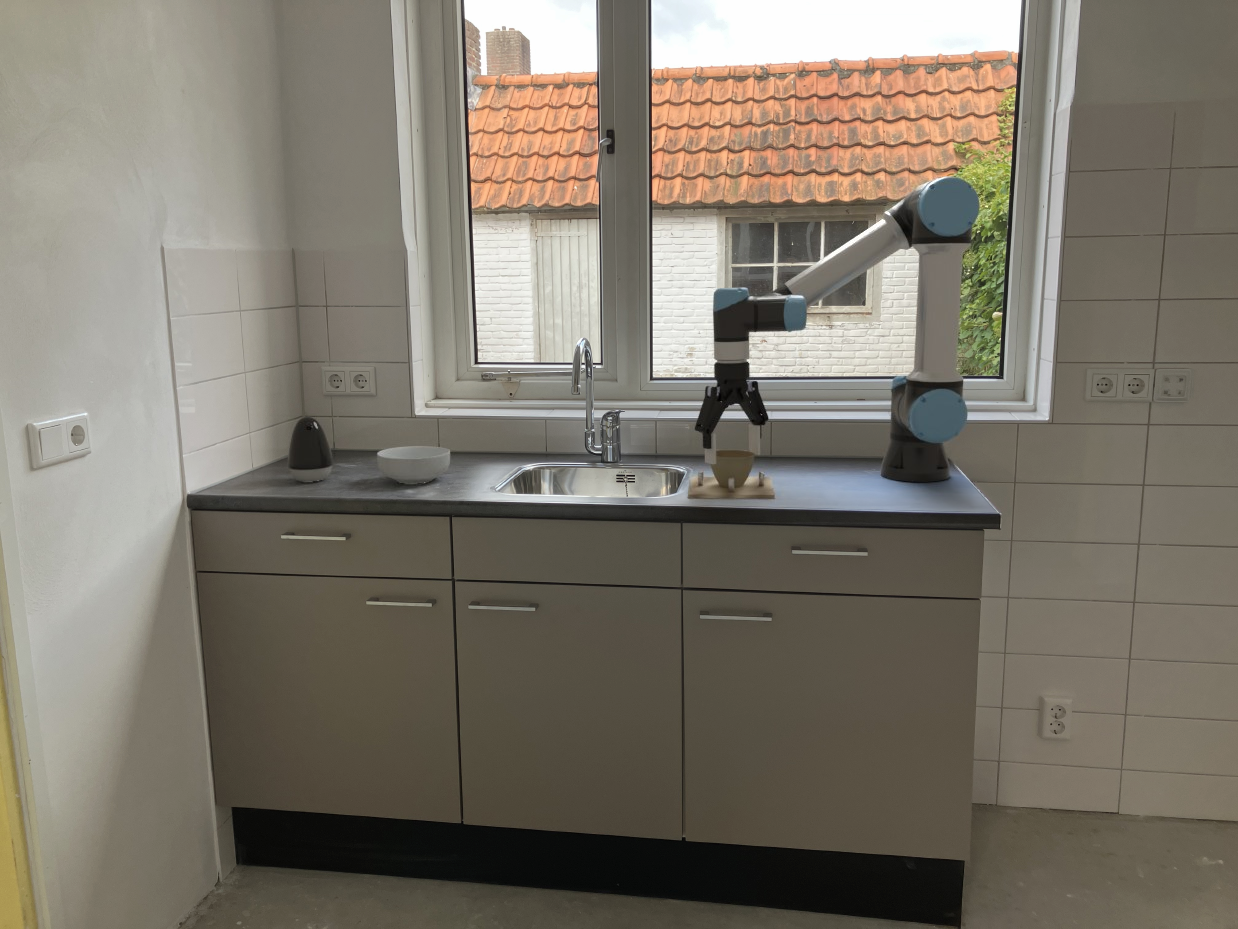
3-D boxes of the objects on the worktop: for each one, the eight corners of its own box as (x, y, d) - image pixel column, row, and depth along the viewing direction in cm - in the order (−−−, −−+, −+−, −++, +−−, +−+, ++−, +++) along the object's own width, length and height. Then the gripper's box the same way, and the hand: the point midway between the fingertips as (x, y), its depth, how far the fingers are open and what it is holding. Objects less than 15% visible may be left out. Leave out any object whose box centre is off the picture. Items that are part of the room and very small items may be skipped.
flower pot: (716, 491, 214) (716, 458, 212) (703, 482, 223) (703, 450, 222) (760, 488, 215) (761, 456, 214) (746, 479, 225) (746, 448, 224)
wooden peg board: (770, 480, 227) (770, 464, 227) (774, 498, 210) (774, 480, 209) (691, 480, 229) (690, 463, 229) (688, 498, 212) (688, 480, 211)
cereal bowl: (435, 490, 224) (433, 458, 223) (366, 488, 227) (364, 457, 226) (462, 474, 240) (460, 445, 239) (397, 473, 244) (395, 444, 242)
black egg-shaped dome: (291, 486, 230) (285, 421, 227) (287, 478, 239) (282, 415, 236) (336, 482, 233) (332, 417, 231) (331, 474, 243) (327, 412, 240)
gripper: (758, 355, 225) (759, 448, 229) (676, 365, 209) (679, 465, 213) (784, 356, 219) (784, 452, 223) (701, 367, 204) (703, 469, 208)
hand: (733, 458), depth 218 cm, fingers open, 13 cm apart
